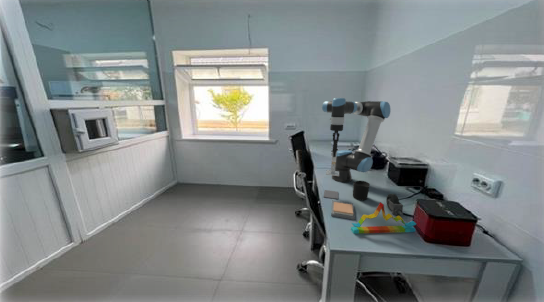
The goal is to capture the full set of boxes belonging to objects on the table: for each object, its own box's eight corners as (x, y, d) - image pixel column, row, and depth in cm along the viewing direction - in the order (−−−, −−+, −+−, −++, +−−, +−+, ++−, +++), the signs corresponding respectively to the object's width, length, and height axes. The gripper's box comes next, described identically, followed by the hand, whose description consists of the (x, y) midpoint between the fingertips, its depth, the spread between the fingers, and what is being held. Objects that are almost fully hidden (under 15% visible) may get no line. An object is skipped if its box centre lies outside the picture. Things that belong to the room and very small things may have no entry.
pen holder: (369, 201, 130) (371, 186, 127) (353, 200, 132) (355, 185, 129) (365, 195, 139) (367, 181, 136) (351, 193, 141) (352, 179, 138)
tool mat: (324, 190, 145) (324, 189, 145) (338, 192, 142) (338, 191, 142) (323, 197, 135) (323, 196, 135) (338, 199, 132) (338, 198, 132)
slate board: (332, 202, 128) (332, 200, 128) (352, 205, 125) (353, 203, 124) (331, 215, 113) (331, 213, 113) (354, 219, 110) (355, 217, 109)
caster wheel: (383, 206, 126) (396, 218, 111) (384, 191, 124) (398, 200, 109) (392, 207, 125) (407, 218, 110) (394, 191, 124) (409, 201, 109)
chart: (410, 228, 103) (415, 200, 100) (414, 232, 100) (420, 204, 97) (350, 230, 102) (353, 202, 98) (353, 234, 99) (356, 205, 95)
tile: (333, 202, 122) (333, 210, 113) (352, 204, 120) (353, 213, 110) (333, 204, 123) (333, 212, 114) (351, 207, 120) (352, 215, 111)
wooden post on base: (326, 170, 140) (328, 145, 136) (339, 172, 137) (341, 146, 133) (325, 174, 132) (328, 147, 128) (339, 176, 130) (341, 148, 126)
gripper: (331, 122, 135) (328, 157, 141) (330, 125, 121) (327, 163, 127) (343, 123, 133) (339, 158, 139) (343, 125, 119) (340, 165, 125)
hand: (333, 160), depth 133 cm, fingers closed on wooden post on base, 2 cm apart
